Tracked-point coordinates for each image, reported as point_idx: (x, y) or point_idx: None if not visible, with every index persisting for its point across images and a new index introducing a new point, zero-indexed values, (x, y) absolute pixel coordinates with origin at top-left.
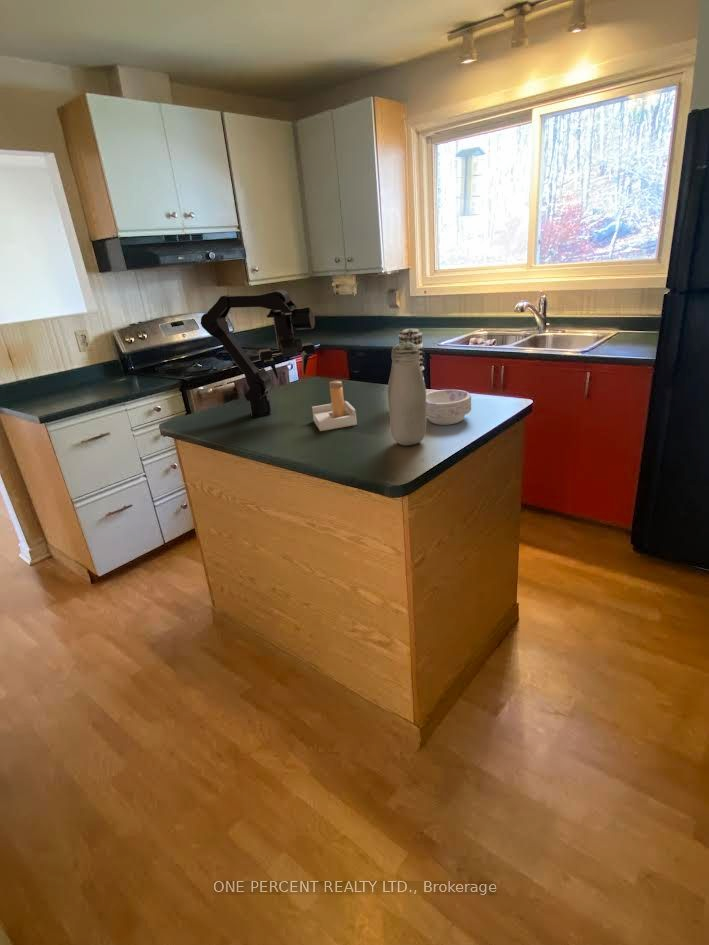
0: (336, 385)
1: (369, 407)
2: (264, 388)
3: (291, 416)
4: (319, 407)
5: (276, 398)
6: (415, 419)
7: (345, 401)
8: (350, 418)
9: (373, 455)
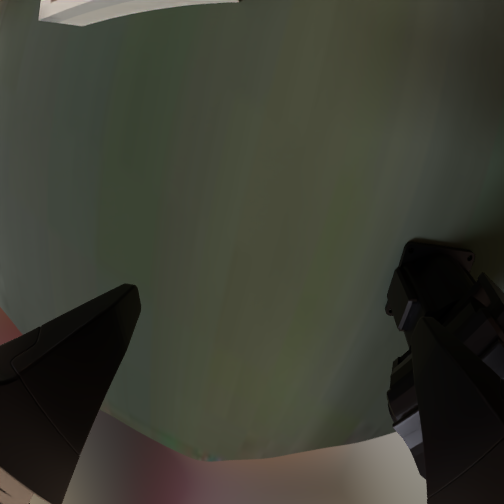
0: None
1: (11, 99)
2: (477, 312)
3: (327, 148)
4: None
5: (301, 406)
6: None
7: (45, 12)
8: None
9: None
